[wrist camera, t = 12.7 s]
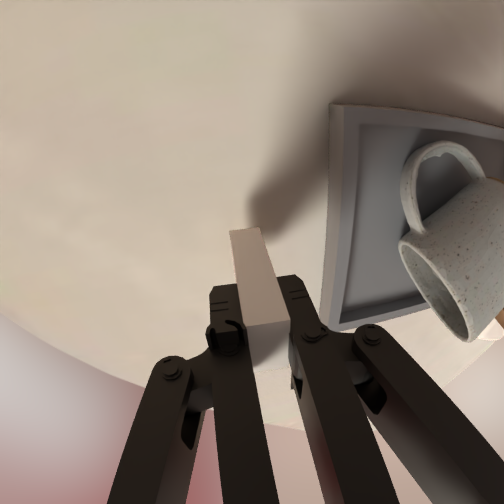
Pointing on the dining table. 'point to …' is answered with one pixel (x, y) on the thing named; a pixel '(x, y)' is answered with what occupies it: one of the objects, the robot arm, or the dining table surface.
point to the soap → (492, 331)
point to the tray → (387, 203)
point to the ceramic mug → (456, 245)
